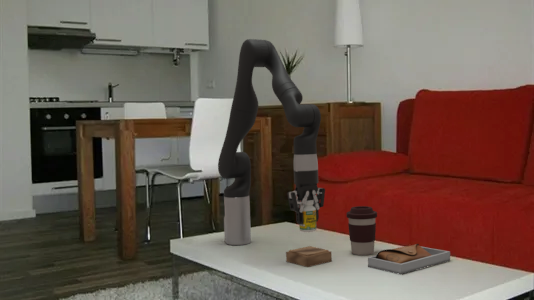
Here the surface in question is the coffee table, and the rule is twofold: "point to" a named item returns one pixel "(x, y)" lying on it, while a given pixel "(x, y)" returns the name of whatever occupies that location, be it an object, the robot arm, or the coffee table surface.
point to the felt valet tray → (410, 262)
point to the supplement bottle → (308, 217)
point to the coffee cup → (362, 229)
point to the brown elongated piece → (403, 254)
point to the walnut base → (308, 256)
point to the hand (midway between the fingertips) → (307, 222)
